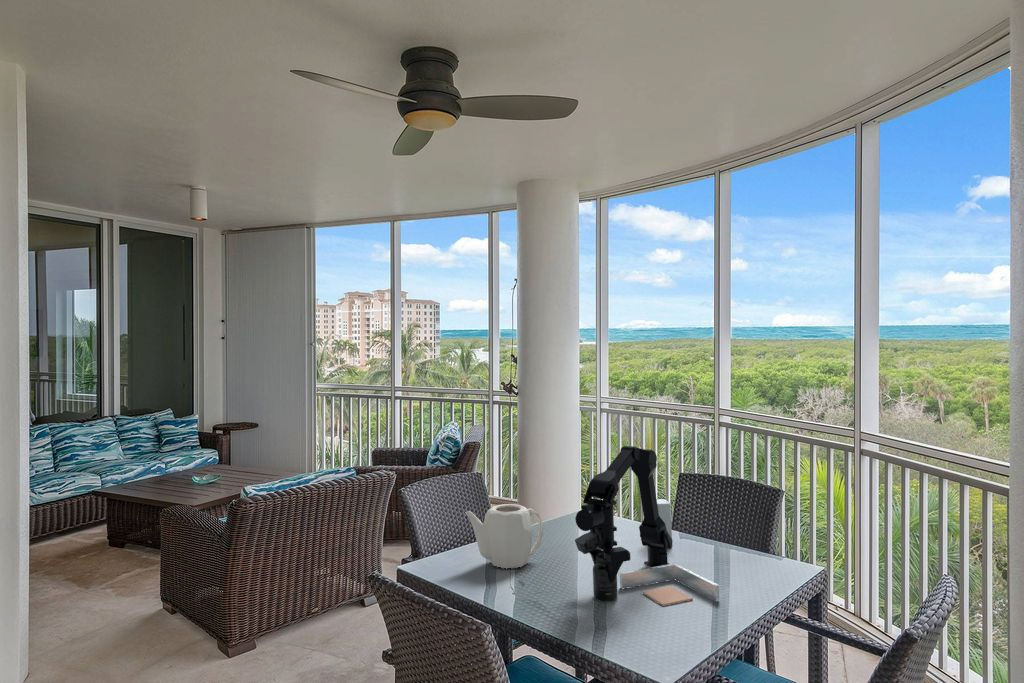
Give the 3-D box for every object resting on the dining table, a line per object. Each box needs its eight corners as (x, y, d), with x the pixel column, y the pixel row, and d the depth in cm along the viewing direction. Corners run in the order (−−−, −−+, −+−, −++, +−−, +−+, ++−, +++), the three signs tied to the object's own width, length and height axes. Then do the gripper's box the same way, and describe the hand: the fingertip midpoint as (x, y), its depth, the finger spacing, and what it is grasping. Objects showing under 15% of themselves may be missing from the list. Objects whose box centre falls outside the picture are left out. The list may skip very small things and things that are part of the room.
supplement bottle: (591, 593, 176) (590, 551, 177) (614, 592, 177) (613, 550, 177) (596, 602, 169) (595, 559, 170) (620, 601, 170) (619, 558, 170)
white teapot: (461, 561, 207) (460, 505, 207) (536, 553, 213) (535, 499, 214) (470, 577, 192) (469, 517, 192) (550, 567, 198) (549, 509, 199)
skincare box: (672, 547, 216) (671, 503, 217) (654, 548, 216) (652, 504, 217) (666, 540, 225) (665, 498, 225) (649, 541, 225) (647, 498, 225)
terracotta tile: (642, 593, 175) (642, 591, 175) (670, 588, 179) (670, 586, 179) (662, 606, 166) (662, 604, 166) (692, 600, 170) (692, 598, 170)
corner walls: (619, 588, 180) (619, 572, 180) (675, 577, 187) (674, 563, 187) (659, 613, 161) (659, 596, 162) (719, 601, 169) (718, 584, 169)
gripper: (563, 518, 179) (565, 571, 179) (595, 535, 162) (596, 594, 162) (596, 514, 184) (598, 566, 183) (630, 529, 166) (632, 587, 166)
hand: (605, 577), depth 173 cm, fingers closed on supplement bottle, 7 cm apart
